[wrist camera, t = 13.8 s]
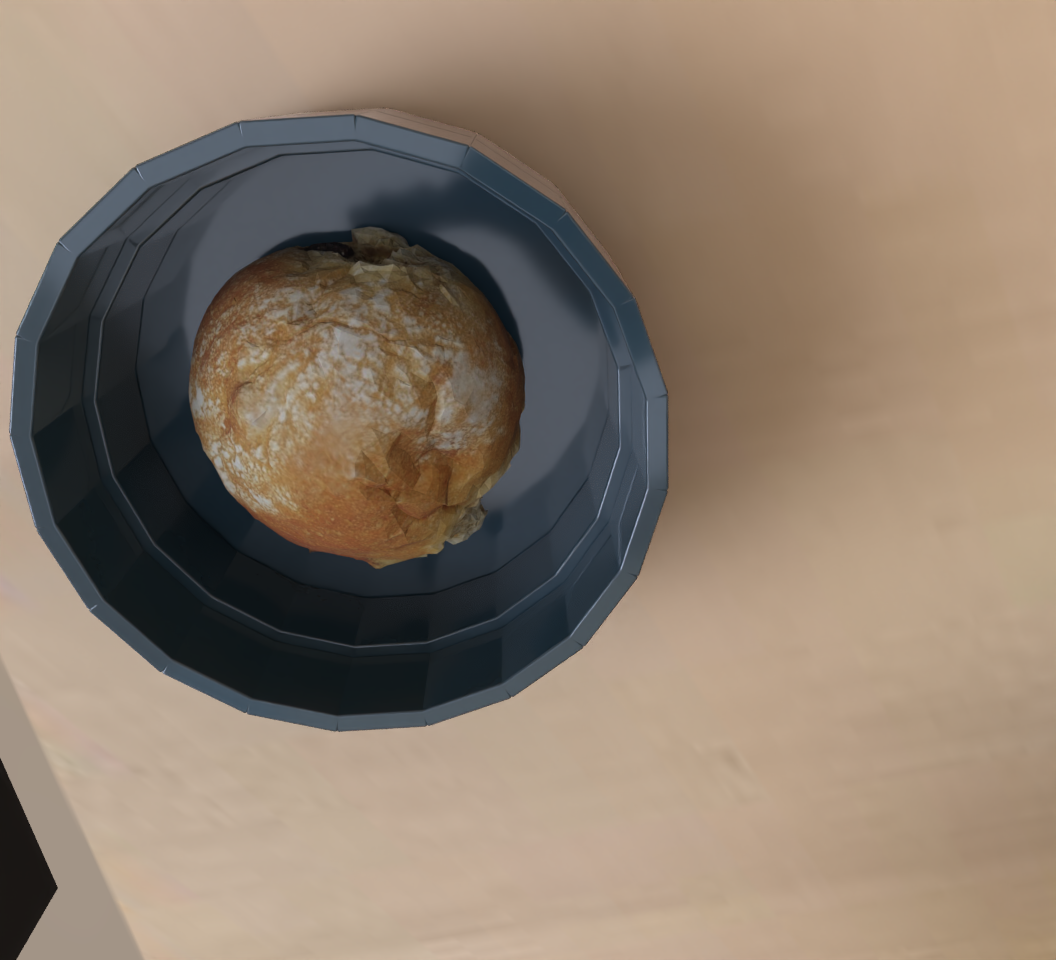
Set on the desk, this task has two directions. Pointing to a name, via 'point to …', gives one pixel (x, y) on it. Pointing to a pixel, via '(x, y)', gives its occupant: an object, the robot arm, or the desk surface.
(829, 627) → the desk surface
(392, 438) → the bread roll
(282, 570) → the dark blue bowl
